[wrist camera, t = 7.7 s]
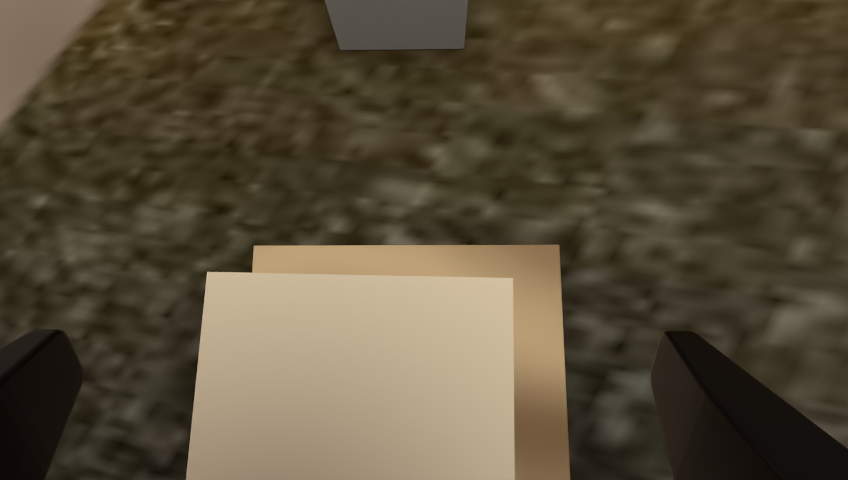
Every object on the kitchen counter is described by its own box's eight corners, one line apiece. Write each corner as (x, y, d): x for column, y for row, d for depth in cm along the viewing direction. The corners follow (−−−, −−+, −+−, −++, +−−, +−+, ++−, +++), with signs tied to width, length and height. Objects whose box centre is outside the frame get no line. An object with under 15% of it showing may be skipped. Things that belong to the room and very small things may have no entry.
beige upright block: (465, 485, 19) (519, 724, 6) (343, 482, 19) (160, 710, 7) (466, 331, 20) (514, 276, 8) (351, 329, 20) (206, 270, 8)
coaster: (569, 574, 19) (575, 583, 18) (240, 570, 20) (232, 579, 19) (554, 249, 22) (559, 245, 21) (260, 250, 22) (254, 245, 21)
